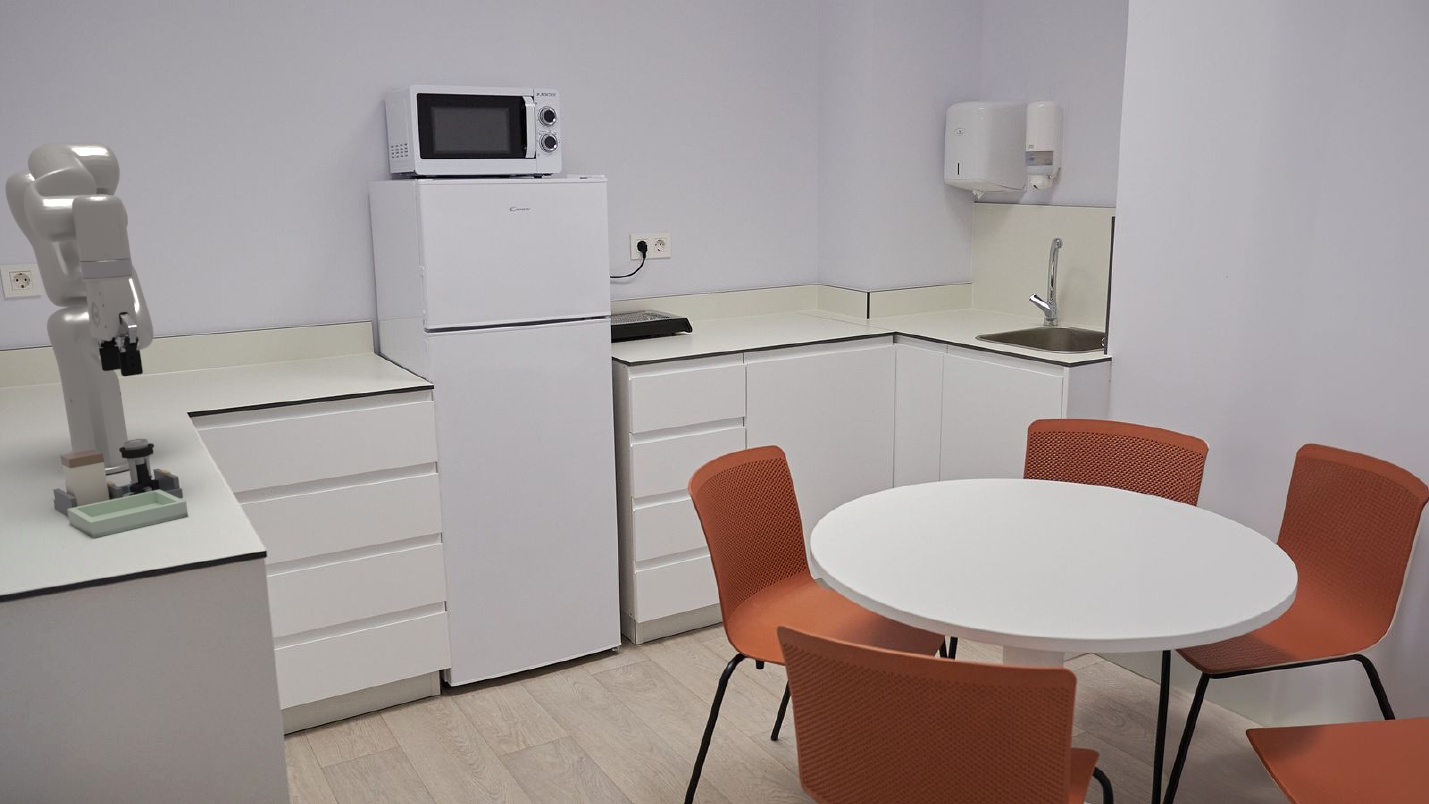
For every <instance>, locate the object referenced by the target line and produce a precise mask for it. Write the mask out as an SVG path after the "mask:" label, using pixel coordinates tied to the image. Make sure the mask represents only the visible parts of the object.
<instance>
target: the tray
mask: <svg viewBox="0 0 1429 804" xmlns="http://www.w3.org/2000/svg"><path fill="white" fill-rule="evenodd" d="M67 510H68V516H67V517H68V521H69V525H70V526H72V527H74V528H75V529H77V530H79V531H80V532H82V533H84V534H86V535H87V536H89V537H90V538H92V539H96V538H101V537H105V536H108V535H109V536H110V535H113V534H117V533H121V532H122V533H123V532H126V531H130V530H131V531H132V530H134V529H139V528H145V527H147V526H152V525H156V524H157V525H158V524H160V523H165V522H169V521H173V520H178V519H183V518H186V517H187V518H188V517H189V513H188V507H187V501H186V500H184V499H182V498H177V497H175V496H173V495H171V494H168V493H166V492H164V491H162V490H160V489H159V490H155V491H150V492H145V493H140V494H136V495H131V496H129V495H127V496H123V497H122V498H117V499H112V500H107V501H103V502H98V503H93V504H88V505H84V506H79V507H74V508H70V509H67Z"/></svg>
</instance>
